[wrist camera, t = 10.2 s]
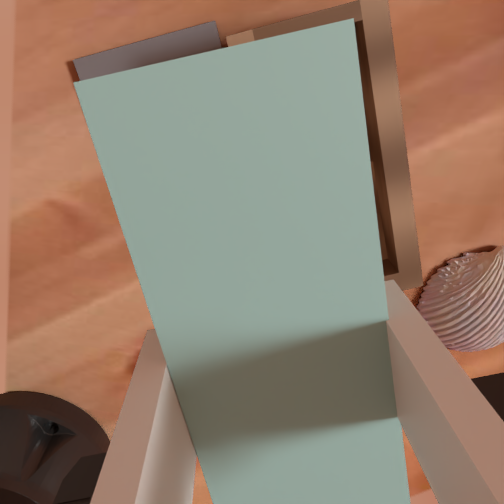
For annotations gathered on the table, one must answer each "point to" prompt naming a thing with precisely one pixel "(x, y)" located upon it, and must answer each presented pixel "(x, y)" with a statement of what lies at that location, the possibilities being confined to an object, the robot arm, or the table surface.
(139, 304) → the table surface
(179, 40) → the mat
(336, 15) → the frame
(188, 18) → the table surface
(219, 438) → the part
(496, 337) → the seashell
